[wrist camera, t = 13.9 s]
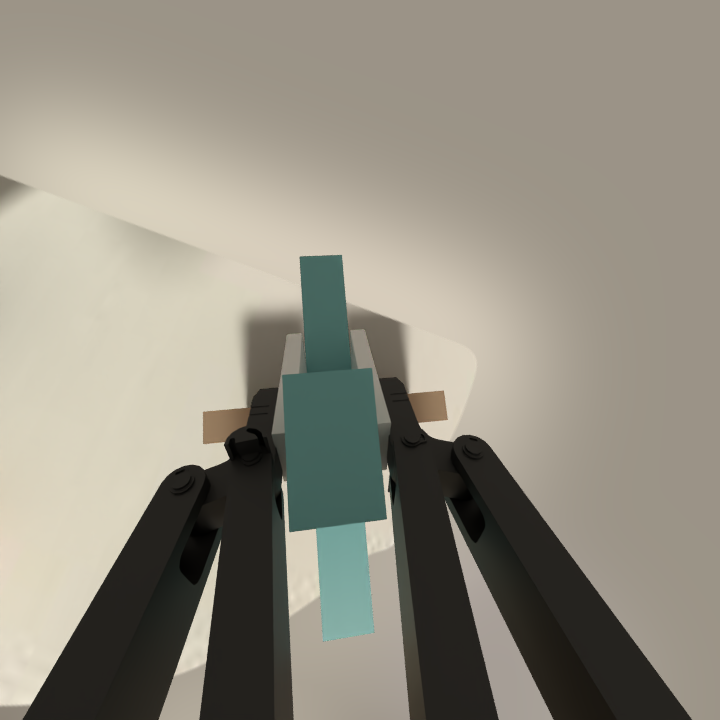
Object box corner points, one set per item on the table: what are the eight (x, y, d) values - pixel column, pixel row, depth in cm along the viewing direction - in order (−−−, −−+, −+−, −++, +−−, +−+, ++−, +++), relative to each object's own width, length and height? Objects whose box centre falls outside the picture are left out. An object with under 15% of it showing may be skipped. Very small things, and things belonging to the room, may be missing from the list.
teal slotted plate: (355, 530, 26) (425, 914, 6) (328, 534, 26) (309, 946, 6) (338, 317, 29) (348, 126, 9) (313, 318, 29) (270, 125, 9)
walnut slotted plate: (247, 431, 34) (203, 444, 23) (247, 410, 35) (203, 411, 23) (410, 416, 36) (447, 419, 25) (408, 396, 37) (443, 390, 25)
